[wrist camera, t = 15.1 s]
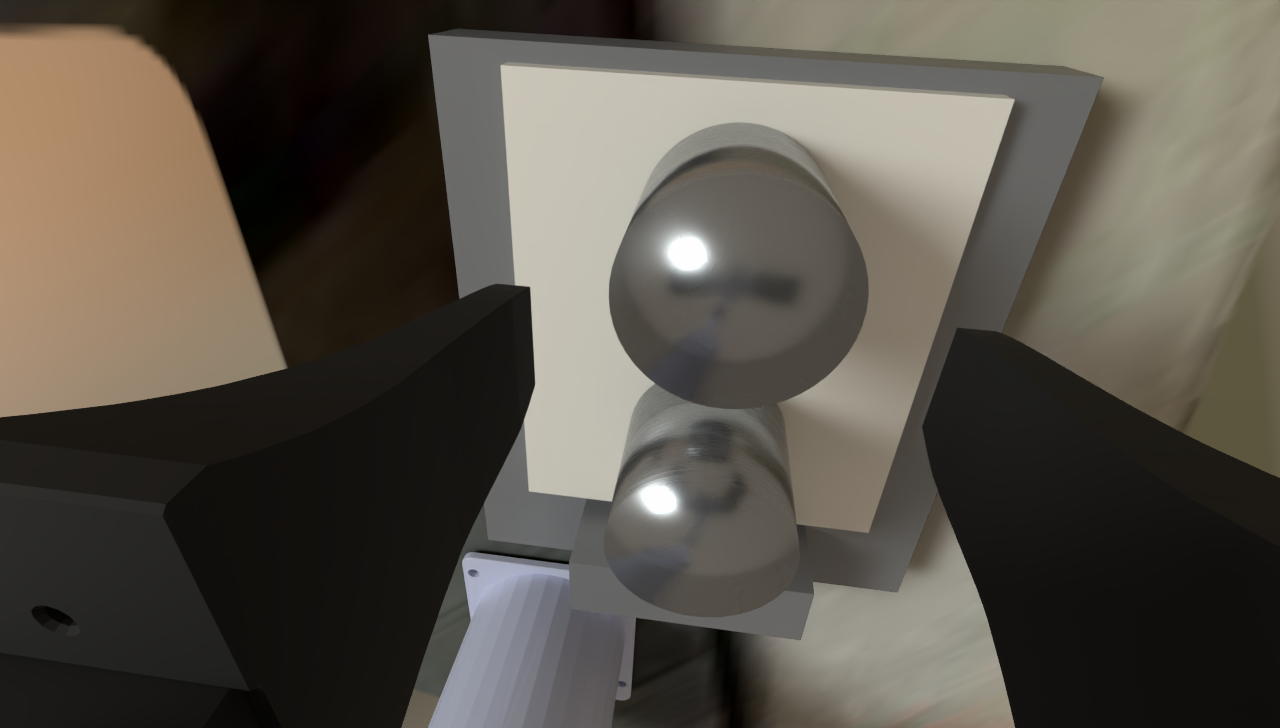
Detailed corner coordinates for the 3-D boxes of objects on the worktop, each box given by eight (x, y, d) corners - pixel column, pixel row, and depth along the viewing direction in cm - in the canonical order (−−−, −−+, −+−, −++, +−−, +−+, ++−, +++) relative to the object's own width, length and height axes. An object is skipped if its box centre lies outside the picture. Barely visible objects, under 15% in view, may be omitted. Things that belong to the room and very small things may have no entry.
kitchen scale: (886, 551, 26) (920, 679, 21) (503, 504, 27) (456, 614, 22) (1065, 66, 16) (1200, 104, 11) (457, 29, 17) (357, 49, 13)
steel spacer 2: (768, 502, 22) (777, 630, 17) (624, 479, 22) (598, 600, 18) (801, 381, 19) (821, 498, 15) (637, 357, 19) (610, 466, 15)
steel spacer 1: (830, 302, 17) (862, 404, 13) (650, 313, 18) (627, 413, 14) (834, 110, 15) (876, 159, 11) (627, 134, 16) (589, 188, 12)
